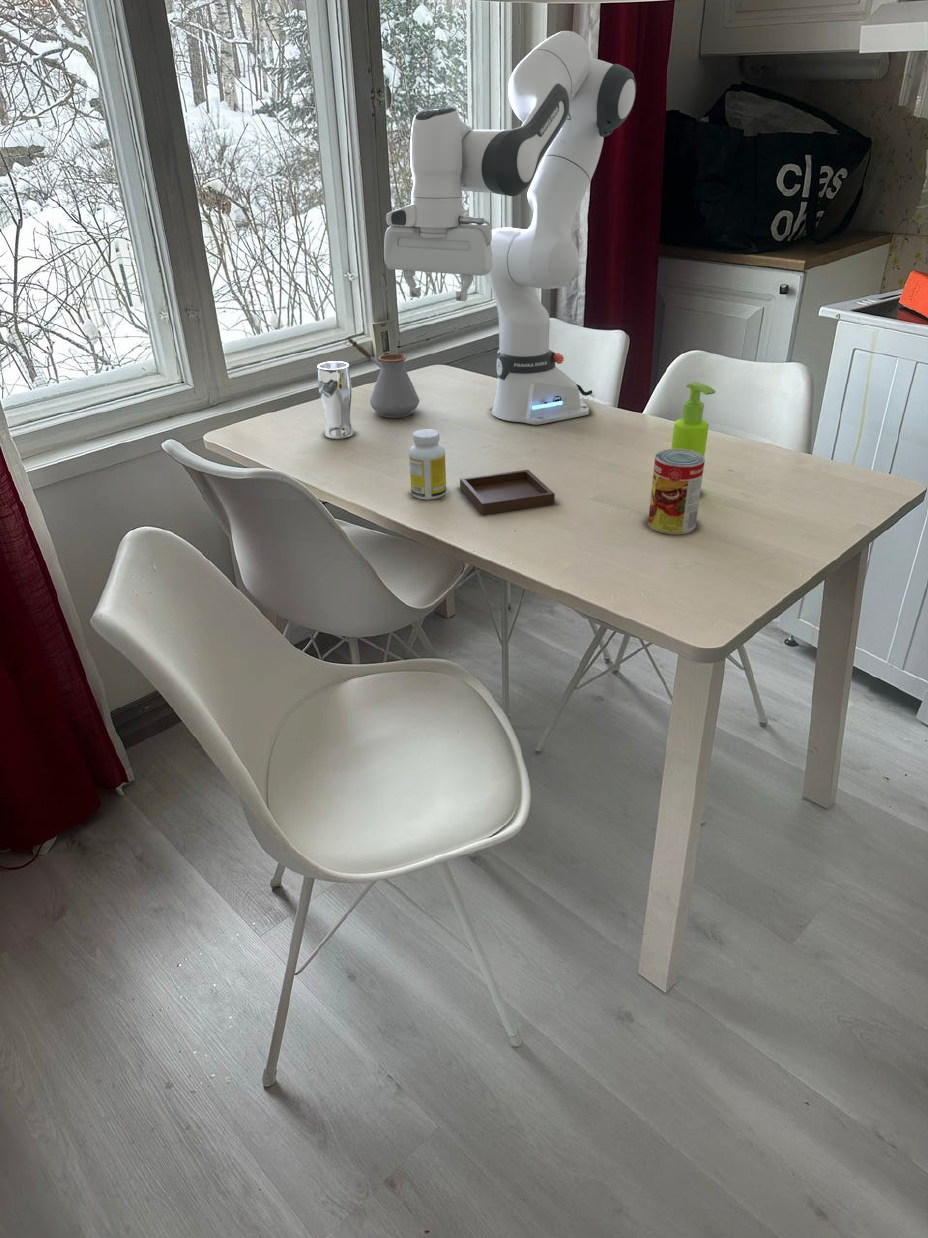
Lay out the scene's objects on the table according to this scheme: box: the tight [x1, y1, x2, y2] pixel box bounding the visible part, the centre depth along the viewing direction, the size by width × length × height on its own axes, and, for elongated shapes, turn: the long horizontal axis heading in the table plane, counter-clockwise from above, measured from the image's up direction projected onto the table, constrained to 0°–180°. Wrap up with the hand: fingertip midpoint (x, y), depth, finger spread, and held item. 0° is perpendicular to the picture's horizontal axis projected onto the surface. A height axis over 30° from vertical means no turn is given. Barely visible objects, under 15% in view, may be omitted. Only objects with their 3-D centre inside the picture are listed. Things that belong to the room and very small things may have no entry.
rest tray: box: [459, 469, 555, 516], centre depth 156 cm, size 14×13×2 cm
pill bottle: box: [408, 428, 447, 501], centre depth 155 cm, size 6×6×12 cm
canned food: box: [647, 448, 706, 535], centre depth 142 cm, size 8×8×12 cm
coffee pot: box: [344, 337, 420, 419], centre depth 199 cm, size 21×12×15 cm, turn 47°
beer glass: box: [316, 361, 354, 440], centre depth 184 cm, size 7×7×15 cm
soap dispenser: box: [670, 381, 717, 457], centre depth 151 cm, size 6×7×20 cm
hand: (438, 298), depth 156 cm, fingers open, 8 cm apart
